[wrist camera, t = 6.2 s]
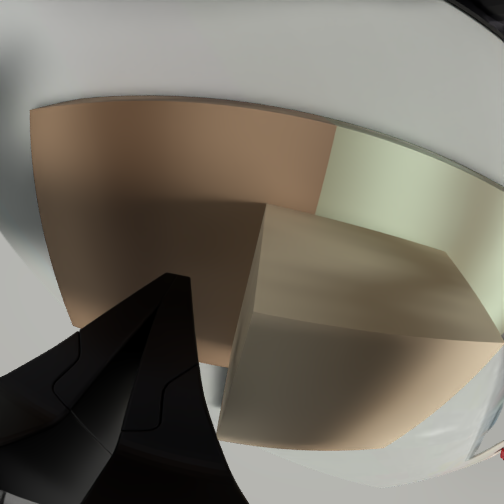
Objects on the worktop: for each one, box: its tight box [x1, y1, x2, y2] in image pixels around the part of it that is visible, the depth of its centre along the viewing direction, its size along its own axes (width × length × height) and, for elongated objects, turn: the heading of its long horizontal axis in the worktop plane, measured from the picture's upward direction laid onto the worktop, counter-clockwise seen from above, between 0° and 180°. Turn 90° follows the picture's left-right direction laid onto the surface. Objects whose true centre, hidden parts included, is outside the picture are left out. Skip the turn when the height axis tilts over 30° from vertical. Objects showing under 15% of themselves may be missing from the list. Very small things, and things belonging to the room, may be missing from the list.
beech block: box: [216, 204, 504, 451], centre depth 7 cm, size 6×6×4 cm
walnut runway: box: [30, 96, 504, 368], centre depth 13 cm, size 34×20×3 cm, turn 81°
